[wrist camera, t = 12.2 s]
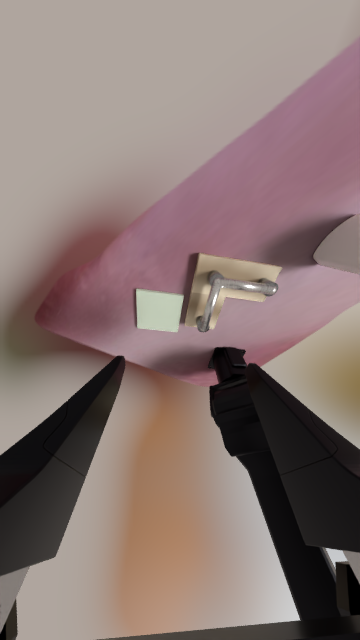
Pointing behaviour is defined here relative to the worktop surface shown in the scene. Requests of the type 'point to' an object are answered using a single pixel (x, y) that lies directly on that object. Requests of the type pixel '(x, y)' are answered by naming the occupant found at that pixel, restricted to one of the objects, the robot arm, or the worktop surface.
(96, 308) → the worktop surface
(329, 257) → the eye dropper bottle
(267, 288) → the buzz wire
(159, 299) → the pad
